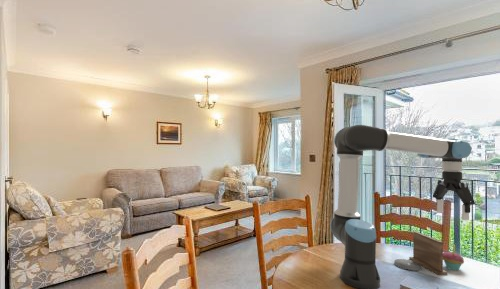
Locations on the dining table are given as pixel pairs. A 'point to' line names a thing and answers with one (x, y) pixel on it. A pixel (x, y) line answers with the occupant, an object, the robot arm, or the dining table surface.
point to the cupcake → (453, 260)
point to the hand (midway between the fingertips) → (452, 216)
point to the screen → (428, 253)
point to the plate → (408, 264)
